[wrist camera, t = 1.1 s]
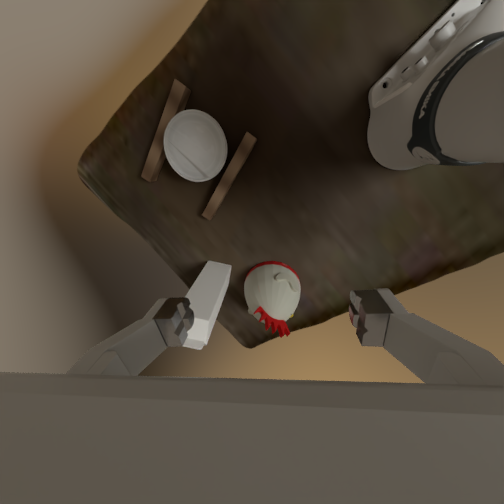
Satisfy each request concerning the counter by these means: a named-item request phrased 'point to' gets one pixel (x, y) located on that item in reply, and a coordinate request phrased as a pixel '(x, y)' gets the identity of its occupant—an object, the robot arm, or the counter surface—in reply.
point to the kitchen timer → (272, 294)
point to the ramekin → (195, 145)
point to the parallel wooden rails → (157, 155)
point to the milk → (206, 302)
